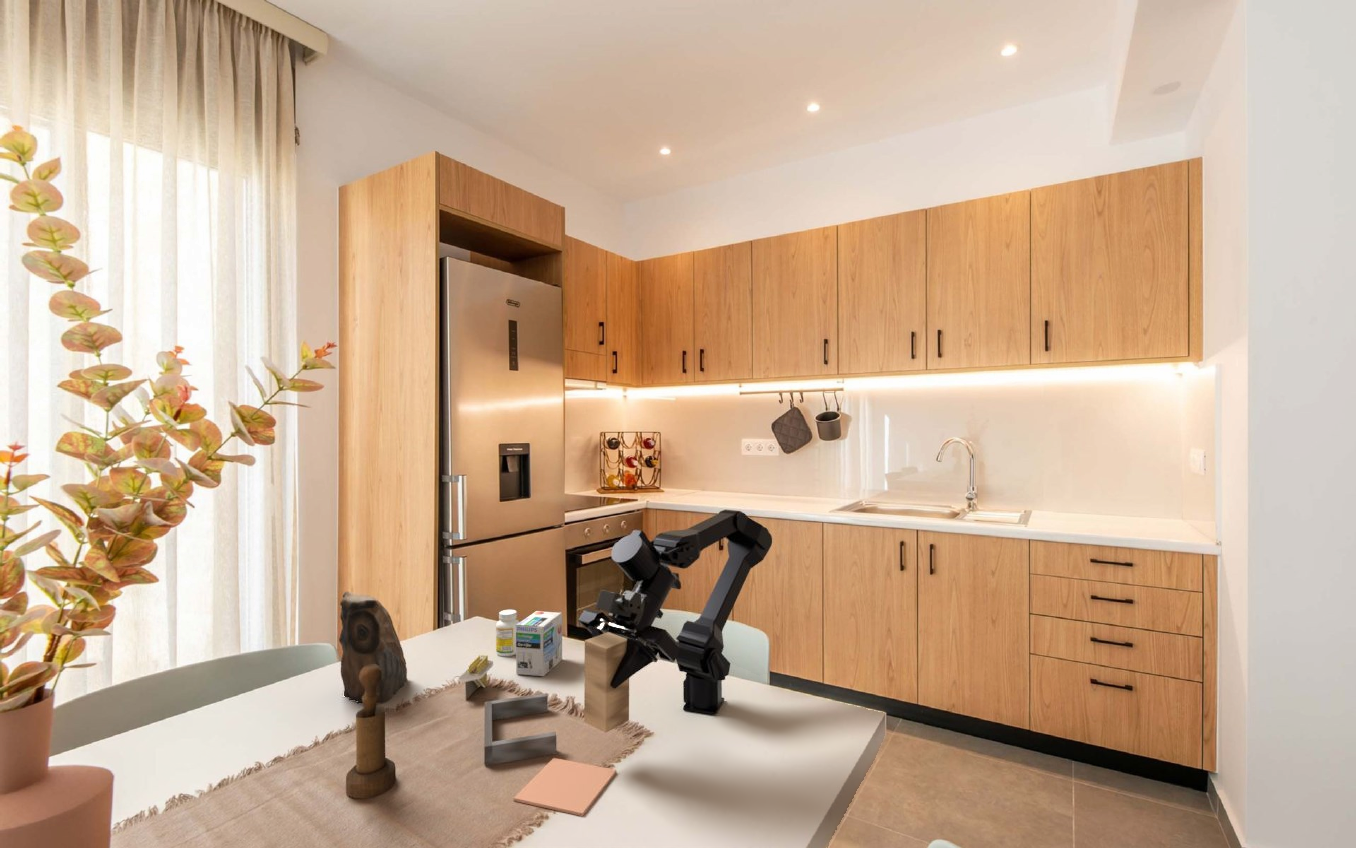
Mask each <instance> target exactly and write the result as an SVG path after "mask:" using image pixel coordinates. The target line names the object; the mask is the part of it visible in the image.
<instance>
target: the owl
mask: <svg viewBox="0 0 1356 848" xmlns="http://www.w3.org/2000/svg"><path fill="white" fill-rule="evenodd" d="M339 604H340V606H341V608H340V610H341V611H340V615H339V617H340V620H341V631H340V635H339V638H338V639H339V640H338V642H339V643H340V645H341V649H342V656H341V661H340V676H341V680H342V683H343V688H344V689H343V692H344V696H345V697H349V698H348V701H350V700H355V701H354V702H355V704H356V703H357V705H359V703H362V704H363V702H362V696H363V695H364V694H365V688H364V686H363V685H362V683H361V682H360V680H359V674H360V671H361V669H362V668H363V667H365V666H366V665H370V664H376V665H378V666H379V667H380V668H381V671H382V675H381V678H380V680H379V682H378V684H377V686H376V693H378V694H379V698H378V702H377V704H381V705H382V704H384V703H387V702H389V701H391V698H393V696H394V695H396V694H397V692H398V691H399V690H400V688H403V687H404V685H405V684H404V683H406V682H407V681H408V668H407V661H406V659H405V654H404V650H403V647H402V644H401V642H400V638H399V636H398V634H397V632H396V629H395V627H394V622H393V620H392V617H391V615H390V612H389V611H388V609H386V608H385V607H384V606H383V604H381V602H380V601H379V600H378V599H377V598H375V597H372V596H369V595H363V594H354V593H350V592H349V591H345V592H344V593H343V595H342V599H341V601H340V603H339ZM345 697H344V698H345ZM356 701H358V702H356Z"/></svg>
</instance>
